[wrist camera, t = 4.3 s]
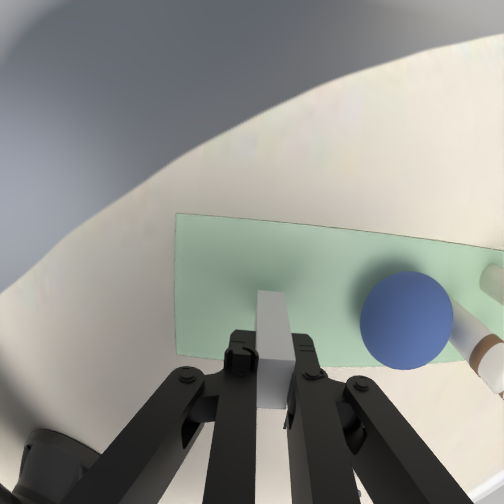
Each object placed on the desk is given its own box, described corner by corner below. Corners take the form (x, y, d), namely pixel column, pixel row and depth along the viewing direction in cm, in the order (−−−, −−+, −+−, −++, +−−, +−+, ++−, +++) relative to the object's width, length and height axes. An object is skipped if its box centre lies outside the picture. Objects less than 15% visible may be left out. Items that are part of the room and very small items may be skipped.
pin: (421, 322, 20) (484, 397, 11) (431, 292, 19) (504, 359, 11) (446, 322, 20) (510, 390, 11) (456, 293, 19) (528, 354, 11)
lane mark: (176, 352, 21) (176, 354, 21) (177, 213, 18) (176, 213, 18) (513, 352, 21) (514, 353, 21) (545, 258, 18) (546, 258, 18)
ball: (453, 369, 16) (398, 328, 21) (481, 285, 14) (414, 254, 19) (389, 403, 14) (335, 348, 19) (420, 307, 12) (347, 263, 17)
